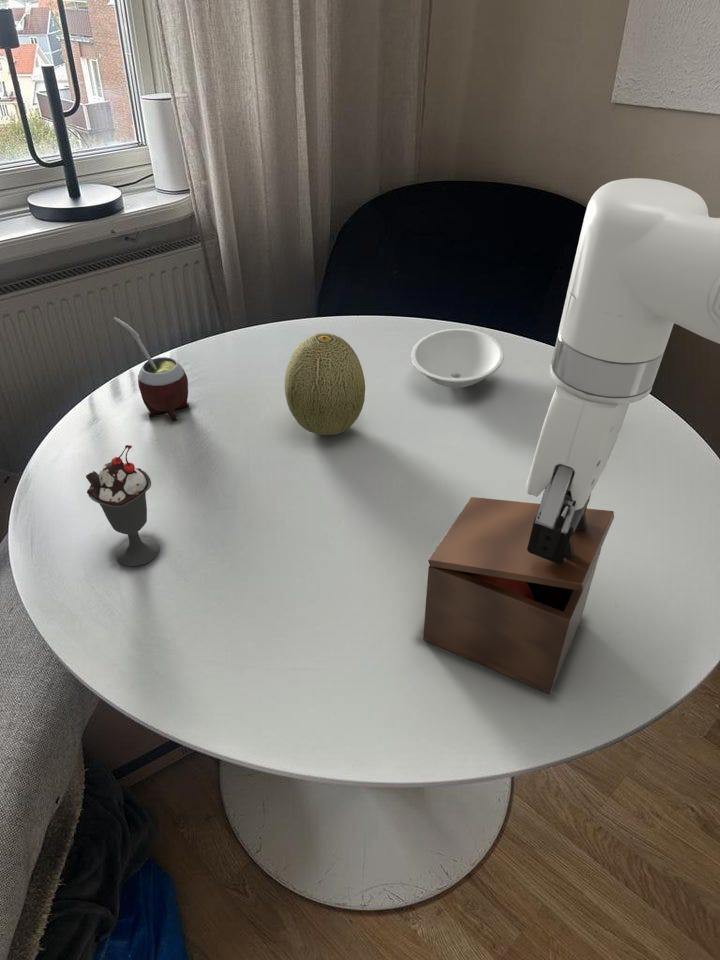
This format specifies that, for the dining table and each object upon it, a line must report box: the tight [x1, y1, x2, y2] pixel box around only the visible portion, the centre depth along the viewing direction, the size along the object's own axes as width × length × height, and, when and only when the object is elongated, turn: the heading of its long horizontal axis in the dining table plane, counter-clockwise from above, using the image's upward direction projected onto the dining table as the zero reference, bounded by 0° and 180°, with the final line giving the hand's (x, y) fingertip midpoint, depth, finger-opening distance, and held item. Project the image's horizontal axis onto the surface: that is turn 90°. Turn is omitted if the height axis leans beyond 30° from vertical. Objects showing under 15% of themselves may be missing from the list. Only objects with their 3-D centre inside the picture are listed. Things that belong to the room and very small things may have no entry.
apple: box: [465, 572, 534, 600], centre depth 72 cm, size 7×7×8 cm
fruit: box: [284, 332, 366, 436], centre depth 99 cm, size 11×11×15 cm
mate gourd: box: [113, 316, 190, 423], centre depth 103 cm, size 8×8×15 cm
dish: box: [411, 328, 505, 388], centre depth 113 cm, size 18×14×5 cm
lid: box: [427, 495, 615, 591], centre depth 65 cm, size 14×11×5 cm
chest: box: [422, 548, 602, 695], centre depth 71 cm, size 14×11×11 cm
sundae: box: [85, 444, 160, 567], centre depth 79 cm, size 7×7×15 cm
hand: (555, 534), depth 64 cm, fingers closed on lid, 5 cm apart
